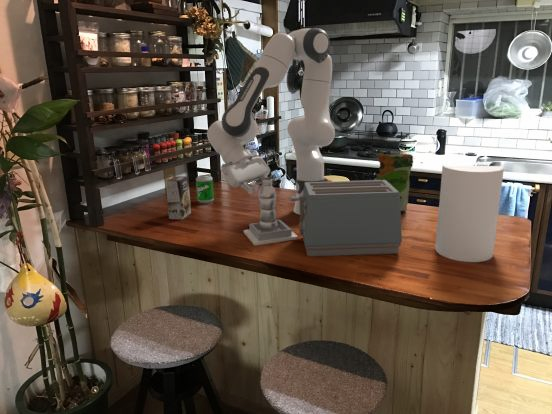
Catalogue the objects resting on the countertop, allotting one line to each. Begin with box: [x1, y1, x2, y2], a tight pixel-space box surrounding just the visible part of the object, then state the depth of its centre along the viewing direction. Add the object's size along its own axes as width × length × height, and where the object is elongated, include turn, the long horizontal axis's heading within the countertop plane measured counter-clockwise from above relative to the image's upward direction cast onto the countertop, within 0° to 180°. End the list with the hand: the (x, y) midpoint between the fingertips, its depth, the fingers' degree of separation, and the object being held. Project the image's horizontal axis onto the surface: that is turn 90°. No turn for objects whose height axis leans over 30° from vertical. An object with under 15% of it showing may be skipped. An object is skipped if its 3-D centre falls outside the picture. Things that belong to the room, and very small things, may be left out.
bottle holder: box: [243, 219, 299, 246], centre depth 164 cm, size 16×14×4 cm
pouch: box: [376, 152, 414, 212], centre depth 184 cm, size 11×12×25 cm
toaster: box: [290, 179, 403, 258], centre depth 151 cm, size 19×35×20 cm, turn 92°
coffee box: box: [165, 175, 192, 221], centre depth 187 cm, size 9×6×16 cm
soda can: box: [195, 174, 215, 204], centre depth 208 cm, size 8×8×12 cm
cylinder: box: [435, 165, 505, 263], centre depth 143 cm, size 17×17×28 cm
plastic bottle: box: [257, 177, 278, 233], centre depth 162 cm, size 6×7×20 cm
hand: (260, 189), depth 162 cm, fingers open, 8 cm apart
